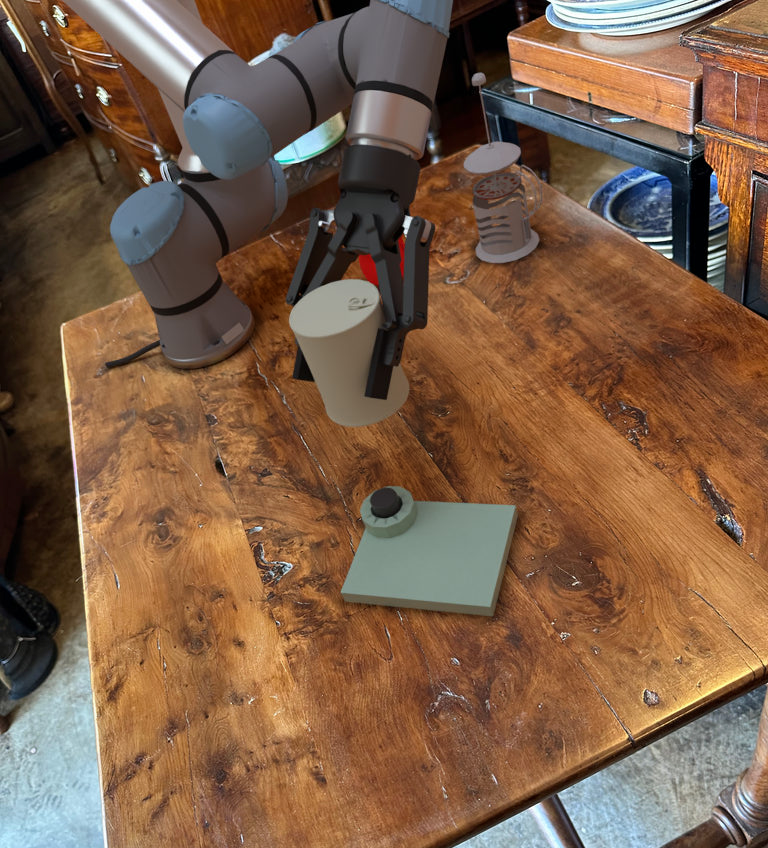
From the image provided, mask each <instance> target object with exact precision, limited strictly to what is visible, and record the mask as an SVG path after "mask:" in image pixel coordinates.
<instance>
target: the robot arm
mask: <svg viewBox="0 0 768 848" xmlns="http://www.w3.org/2000/svg"><path fill="white" fill-rule="evenodd" d="M61 1H62V2H63V3H64V4H65V5H67V6H68V7H69V8H70V9H71V10H72V11H73V12H74V13H75V14H76V15H77V16H79V18H81V19H82V20H83V21H84V22H85V23H86V24H87V25H88V26H90V27H91V29H93V30H94V31H95V32H96V33H97V34H98V35H99V36H100V37H101V38H102V39H103V40H104V41H106V42H107V43H108V44H109V45H110V46H111V47H112V48H113V49H114V50H115V51H117V52H118V53H119V54H120V56H122V57H123V58H124V59H125V60H126V61H127V62H129V63H130V64H131V65H132V66H133V67H134V68H135V69H136V70H137V71H139V72H140V73H141V74H142V76H144V77H145V78H146V79H147V80H148V81H149V82H150V83H151V84H153V86H155V87H156V89H157V90H158V93H159V95H160V98H161V99H162V102H163V104H164V107H165V109H166V111H167V114H168V116H169V118H170V120H171V124H172V125H173V128H174V130H175V133H176V135H177V137H178V140H179V142H180V145H181V147H182V149H181V150H180V153H179V156H178V158H177V165H178V167H179V169H180V172H181V174H182V177H183V181H181V182H180V183H178V184H177V183H175V182H174V181H172V180H171V181H170V180H160V181H156V182H153V183H151V184H150V185H149V186H148V187H146V186H143V187H142V188H140V189H138V190H137V191H135V192H134V193H132V194H131V195H130V196H128V197H127V198H126V199H125V200H124V201H122V203H121V204H120V205H119V206H118V208H117V209H116V210H115V212H114V213H113V216H112V218H111V222H110V225H109V232H110V237H111V238H112V241H113V242H114V244H115V247H116V249H117V251H118V254H119V257H120V259H121V261H122V262H123V263H124V264H125V265H126V267H127V268H128V270H129V272H130V274H131V275H132V277H133V279H134V281H135V282H136V284H137V286H138V288H139V289H140V291H141V293H142V295H143V297H144V298H145V300H146V302H147V303H148V306H149V307H150V309H151V311H152V313H153V315H154V319H155V325H156V329H157V333H158V334H157V335H158V340H156V341H154V342H152V343H150V344H147V345H146V346H144V347H141V348H140V349H139V350H137V351H135V352H134V353H131V354H129V355H127V356H125V357H121V358H118V359H115V360H111V361H107V362H105V364H104V365H105V367H106V368H107V369H109V368H112V367H116V366H121V365H125V364H127V363H130V362H132V361H133V360H136V359H138V358H139V357H141V356H143V355H144V354H147V353H148V352H150V351H152V350H154V349H156V348H158V347H160V350H161V352H162V354H163V355H164V357H165V359H166V361H167V362H168V363H169V364H170V365H171V366H173V367H175V368H177V369H185V370H191V369H192V370H193V369H194V370H195V369H199V368H205V367H208V366H212V365H214V364H216V363H220V362H221V361H223V360H226V358H228V357H230V356H232V355H233V354H235V353H236V352H238V351H239V350H240V349H241V348H242V347H243V346H244V345H246V343H248V341H249V339H250V338H251V337H252V335H253V334H254V331H255V326H256V321H255V318H254V316H253V313H252V310H251V309H250V307H249V306H248V305H247V304H246V303H245V302H244V301H243V300H242V299H240V298H239V297H238V295H236V293H234V291H233V290H232V289H231V288H230V287H229V285H228V284H227V283H226V282H225V280H224V279H223V277H222V274H221V272H220V271H219V268H218V267H217V263H218V262H219V261H220V260H222V259H224V257H226V256H228V255H229V254H231V253H232V252H233V251H235V250H236V249H238V248H239V247H241V246H242V245H244V244H245V243H246V242H248V241H249V240H251V239H252V238H254V237H255V236H256V235H258V234H259V233H262V232H264V231H266V230H268V229H269V228H270V226H271V225H272V223H274V222H275V221H276V220H278V219H279V218H280V217H281V216H282V215H283V213H284V212H285V210H286V208H287V204H288V201H289V199H288V198H289V192H288V191H289V190H288V184H287V179H286V175H285V172H284V170H283V167H282V165H281V164H280V163H281V162H280V161H279V160H276V157H275V156H276V155H277V154H279V153H280V152H281V151H283V150H284V149H286V148H287V147H289V146H290V145H292V144H293V143H294V142H296V141H298V140H299V139H300V138H301V137H303V136H305V135H306V134H308V133H310V132H312V131H314V130H315V129H316V128H318V127H320V126H321V125H323V124H324V123H326V122H327V121H329V120H330V119H331V118H333V117H335V116H337V115H338V114H339V113H341V112H342V111H344V110H345V109H347V108H348V107H351V108H350V113H349V117H348V118H349V119H348V122H347V123H348V125H347V128H346V133H345V140H346V142H347V143H348V144H349V145H348V146H347V147H346V148H345V149H344V150H343V152H342V157H341V163H340V168H339V173H338V180H337V184H338V188H339V192H340V194H339V195H340V196H339V199H338V201H337V204H336V205H335V207H334V209H322V208H319V207H312V208H311V211H310V213H309V224H308V232H307V235H306V239H305V241H304V244H303V246H302V249H301V251H300V252H301V253H300V256H299V258H298V261H297V263H296V267H295V270H294V273H293V276H292V279H291V282H290V284H289V288H288V290H287V293H286V297H285V303H286V304H287V305H289V306H291V307H293V308H294V306H295V305H296V304H297V303H298V302H299V301H300V300H301V299H302V298H303V297H304V296H306V295H307V294H308V293H310V292H312V291H313V290H315V289H317V288H319V287H321V286H324V285H326V284H329V283H332V282H336V281H340V280H343V278H344V277H345V274H346V272H347V271H348V269H349V267H350V266H351V264H353V263H355V262H357V260H358V259H359V255H368V254H370V255H371V258H372V260H373V261H374V262H375V266H376V272H377V277H378V283H379V285H378V288H379V289H378V290H379V293H380V299H381V303H382V306H383V312H384V317H385V323H384V324H381V325H382V327H383V328H385V329H388V330H384V329H379V328H378V331H377V336H376V340H375V344H374V349H373V354H372V360H371V365H370V370H369V375H368V380H367V385H366V390H365V395H364V396H365V397H369V398H375V399H382V400H387V396H388V391H389V386H390V381H391V376H392V371H393V366H396V367H398V366H399V364H400V363H401V361H402V358H403V357H402V356H403V351H404V346H405V342H406V337H407V335H408V334H409V333H410V332H413V331H415V330H424V329H426V328H427V326H428V318H429V316H428V315H429V286H430V285H429V281H430V248H431V245H432V242H433V239H434V236H435V232H436V225H435V223H434V222H432V221H430V220H428V219H426V218H424V217H422V216H419V215H414V216H411V211H410V206H411V204H413V203H414V201H415V198H416V195H417V189H418V184H419V179H420V174H421V169H422V167H421V166H420V163H419V162H418V160H421V159H422V158H423V157H424V154H425V148H426V142H427V137H428V134H429V127H430V123H431V119H432V118H431V117H432V111H433V108H434V103H435V99H436V94H437V90H438V85H439V80H440V76H441V70H442V65H443V61H444V57H445V52H446V46H447V42H448V39H449V38H450V24H451V17H452V9H453V2H454V0H370V1H369V6H366V7H363V8H361V9H359V10H358V11H355V12H352V13H350V14H347V15H344V16H340V17H338V18H335V19H331V20H328V21H327V20H322V21H320V22H316V23H315V24H314V25H313V26H311V27H308V28H307V29H305V30H304V31H302V32H300V33H299V34H298V35H297V36H296V37H295V38H294V39H293V41H292V42H291V43H290V44H289V45H287V46H285V47H284V48H282V49H281V50H279V51H277V52H275V53H274V54H272V55H269V56H268V57H267V58H265V59H263V60H262V61H260V62H258V63H257V64H254V65H250V64H249V63H248V62H246V60H244V59H243V58H241V57H240V56H239V55H238V54H237V53H236V52H235V51H234V50H233V49H231V47H229V45H227V44H226V43H225V42H224V41H222V39H220V38H219V37H218V36H217V35H216V34H215V33H213V32H212V31H211V30H210V29H209V28H208V27H207V26H206V25H205V24H204V23H203V20H202V17H201V15H200V12H199V10H198V9H199V8H198V6H197V4H196V0H61ZM402 235H403V236H404V237H405V240H404V243H405V249H404V276H403V278H402V275H401V269H400V263H401V254H400V248H399V243H398V240H399V239H400V238H401V236H402ZM294 345H295V346H297V348H296V349H297V350H296V356H295V361H294V367H293V371H292V378H291V379H293V380H296V381H303V382H308V383H316V382H315V380H314V377H313V375H312V373H311V370H310V368H309V366H308V363H307V361H306V359H305V357H304V354H303V352H302V350H301V348H300V345H299V343H298V341H297V338H296V336H295V335H294Z"/></svg>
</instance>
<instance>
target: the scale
mask: <svg viewBox="0 0 768 848" xmlns="http://www.w3.org/2000/svg"><path fill="white" fill-rule="evenodd" d="M383 488H392V489H393V490H395V491H396V493H397V496H398V498H399V501H400V504H401V507H400V510H399V512H398V513H397V514H396V515H394V516H392V517H389V518H379V517H378V516H376V515H375V513H374V510H373V508H372V506H371V503H370V498H371V496H372V494H373V493H374V492H375V491H377V490H378V489H375V490H373V491H372V492H371V493H370V494H369V495H368V496H366V497H365V498H364V499H363V502H362V504H361V507H360V509H359V512H360V516H361V519H362V522H363V525H364V527H365V528H364V531H363V533H362V536H361V538H360V541H359V543H358V546H357V549H356V552H355V554H354V557H353V558H352V562H351V564H350V566H349V570H348V572H347V575H346V577H345V580H344V582H343V585H342V587H341V589H340V594H341V597H342V599H343V600H344V602H347V603H355V604H356V603H357V604H366V605H376V606H384V607H396V608H406V609H413V610H414V609H415V610H425V611H435V612H444V613H454V614H463V615H473V616H474V615H475V616H485V617H494V616H495V611H496V608H497V603H498V599H499V595H500V591H501V586H502V583H503V578H504V574H505V570H506V567H507V562H508V558H509V553H510V550H511V545H512V541H513V539H514V534H515V529H516V525H517V521H518V518H519V513H518V508H517V506H516V505H515V504H498V503H497V504H496V503H473V502H453V501H451V502H449V501H429V500H428V501H427V500H414V497H413V495H412V492H411V491H409V490H407V489H405V488H404V487H402V486H400V485H399V486H398V485H397V486H396V485H387V486H383Z"/></svg>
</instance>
